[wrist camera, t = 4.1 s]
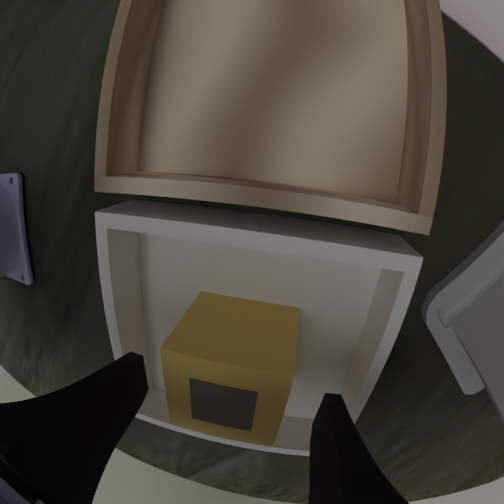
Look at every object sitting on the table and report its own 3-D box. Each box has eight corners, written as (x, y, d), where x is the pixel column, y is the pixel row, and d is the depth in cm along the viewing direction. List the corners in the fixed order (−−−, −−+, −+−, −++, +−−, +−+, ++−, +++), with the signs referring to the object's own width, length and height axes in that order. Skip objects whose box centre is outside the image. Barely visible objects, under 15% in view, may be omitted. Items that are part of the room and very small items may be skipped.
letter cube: (200, 362, 15) (170, 424, 10) (201, 290, 13) (159, 349, 9) (282, 378, 14) (273, 447, 10) (298, 307, 13) (294, 377, 8)
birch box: (133, 182, 12) (94, 191, 10) (167, -30, 8) (142, -57, 6) (401, 216, 11) (429, 235, 8) (409, -17, 7) (427, -46, 4)
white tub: (149, 385, 17) (130, 415, 14) (133, 199, 13) (94, 211, 10) (332, 420, 15) (333, 457, 13) (397, 234, 11) (423, 257, 8)
